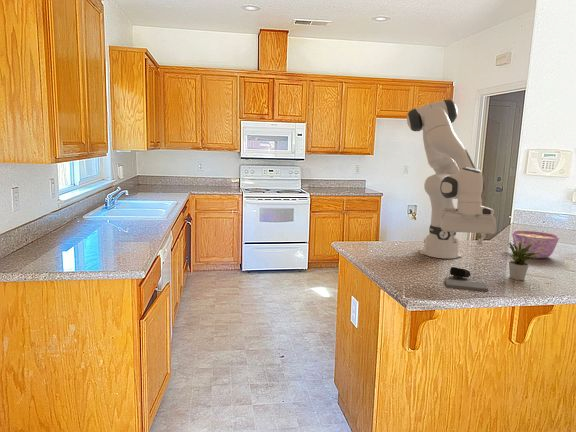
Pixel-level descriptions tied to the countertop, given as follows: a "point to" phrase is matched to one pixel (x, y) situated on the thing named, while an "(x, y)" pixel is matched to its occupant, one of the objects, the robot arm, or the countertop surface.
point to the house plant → (519, 261)
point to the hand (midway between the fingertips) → (466, 243)
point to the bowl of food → (536, 242)
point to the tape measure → (459, 272)
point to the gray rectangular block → (466, 285)
